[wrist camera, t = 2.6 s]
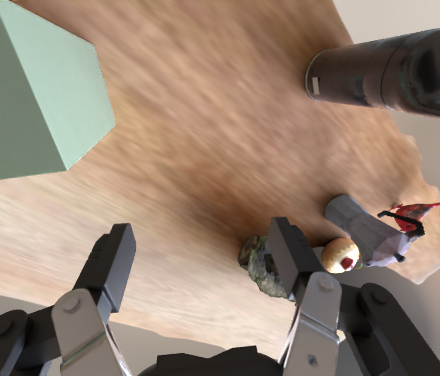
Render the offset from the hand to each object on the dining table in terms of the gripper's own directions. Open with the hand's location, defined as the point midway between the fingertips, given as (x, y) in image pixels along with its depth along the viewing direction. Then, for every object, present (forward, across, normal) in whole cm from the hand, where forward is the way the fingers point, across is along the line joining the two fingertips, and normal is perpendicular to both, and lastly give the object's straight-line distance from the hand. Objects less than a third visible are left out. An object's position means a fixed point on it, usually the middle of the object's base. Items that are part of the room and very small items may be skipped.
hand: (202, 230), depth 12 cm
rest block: (+31, +19, -2) cm, 36 cm away
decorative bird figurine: (+38, -62, +32) cm, 79 cm away
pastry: (+33, -42, +46) cm, 70 cm away
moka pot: (+35, -39, +29) cm, 60 cm away
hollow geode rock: (+30, -19, +41) cm, 54 cm away
